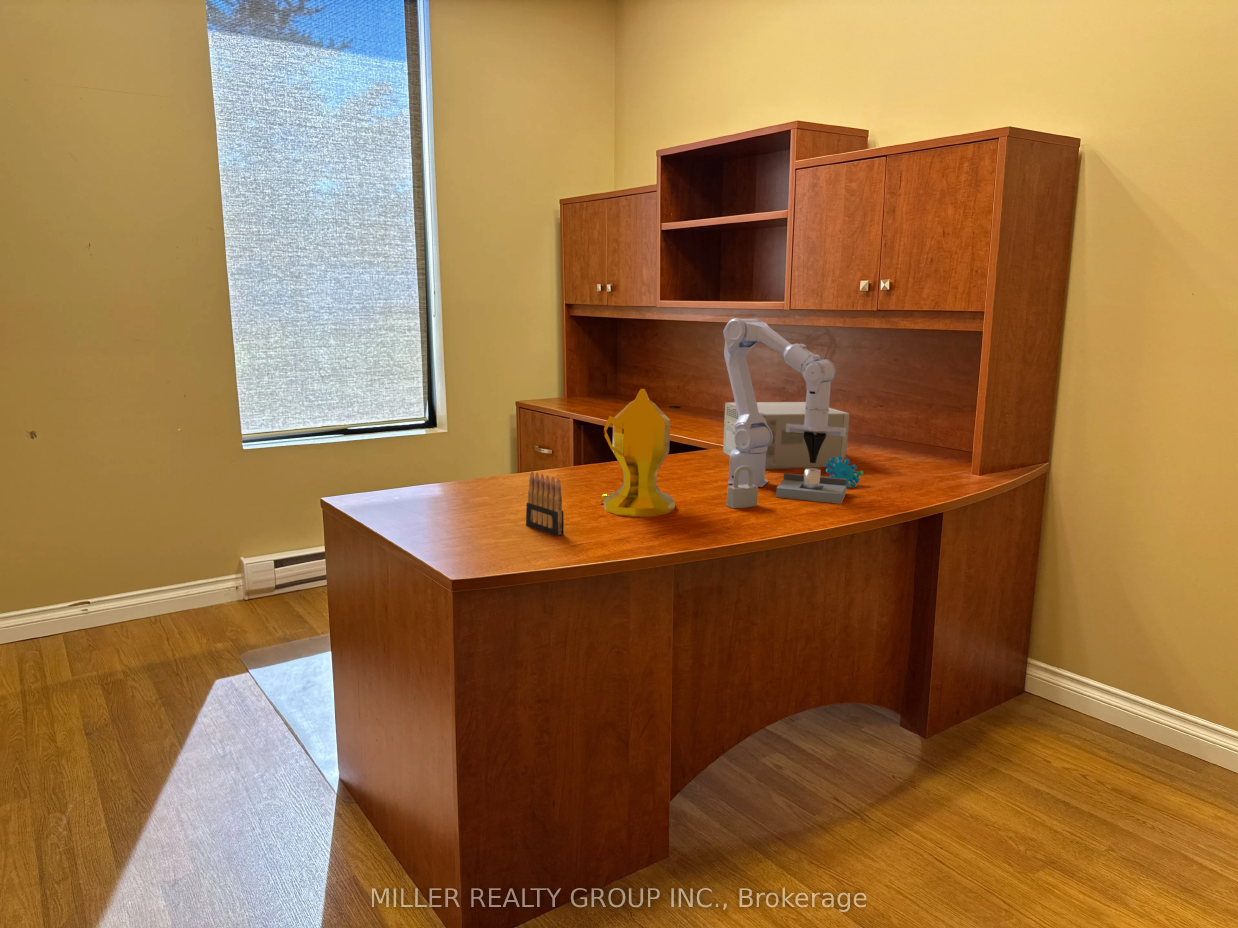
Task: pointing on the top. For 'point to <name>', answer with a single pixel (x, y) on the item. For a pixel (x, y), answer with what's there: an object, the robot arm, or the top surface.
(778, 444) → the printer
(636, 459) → the trophy cup
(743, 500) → the padlock
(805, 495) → the plate
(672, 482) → the top surface
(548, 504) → the ammunition clip
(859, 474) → the gear
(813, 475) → the cylindrical peg
